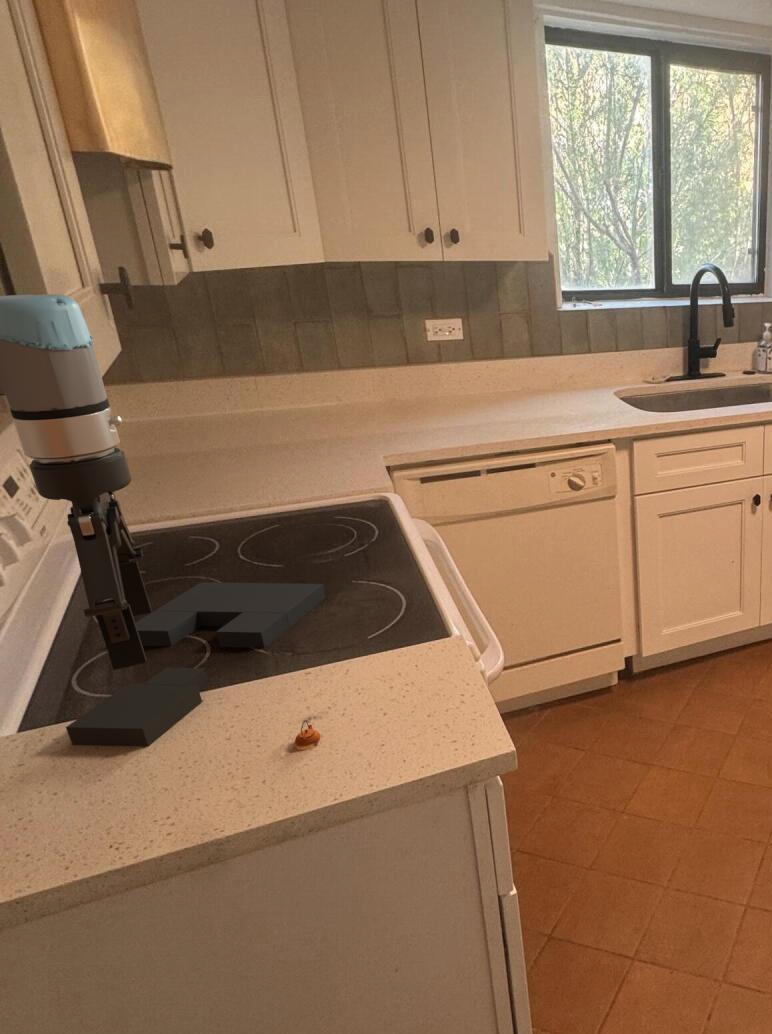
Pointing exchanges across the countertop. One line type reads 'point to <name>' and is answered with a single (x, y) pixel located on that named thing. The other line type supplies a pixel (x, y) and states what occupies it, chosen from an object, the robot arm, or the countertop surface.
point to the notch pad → (231, 613)
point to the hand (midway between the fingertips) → (134, 638)
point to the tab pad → (141, 710)
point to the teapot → (307, 738)
